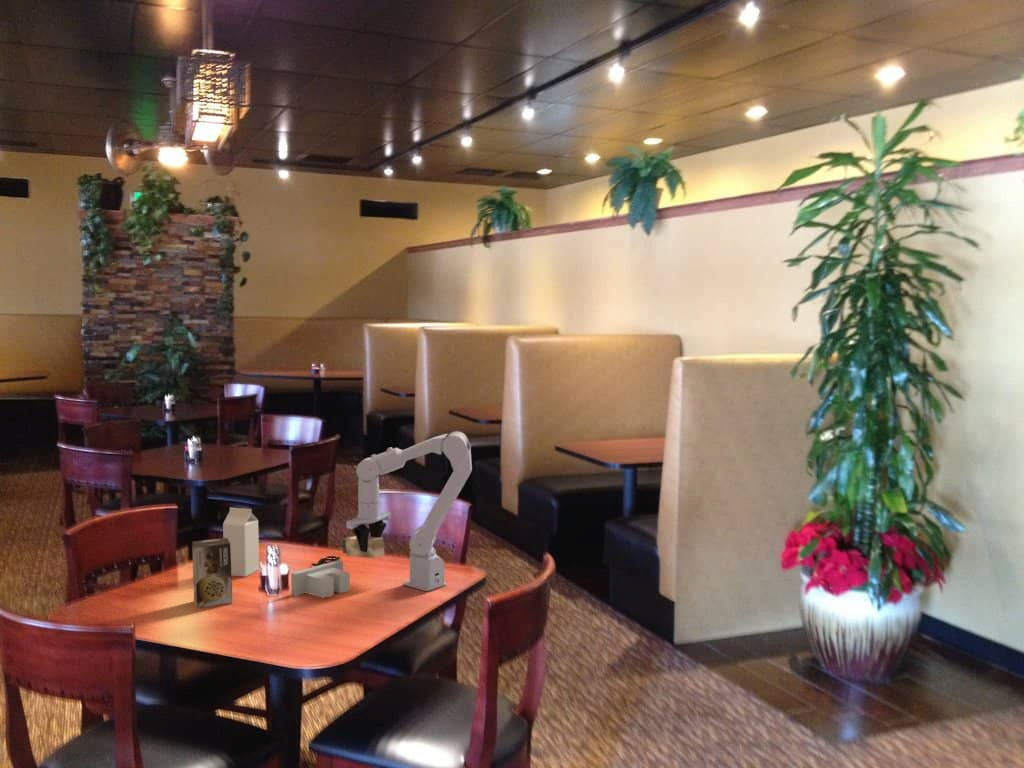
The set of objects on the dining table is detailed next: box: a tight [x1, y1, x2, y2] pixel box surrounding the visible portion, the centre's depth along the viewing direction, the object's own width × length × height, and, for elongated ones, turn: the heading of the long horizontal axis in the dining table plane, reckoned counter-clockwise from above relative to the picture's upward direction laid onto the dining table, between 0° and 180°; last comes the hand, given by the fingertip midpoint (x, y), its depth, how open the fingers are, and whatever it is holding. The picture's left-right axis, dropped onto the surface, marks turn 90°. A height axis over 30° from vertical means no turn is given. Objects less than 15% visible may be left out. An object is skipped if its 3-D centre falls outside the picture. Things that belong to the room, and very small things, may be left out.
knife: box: [310, 555, 341, 566], centre depth 258 cm, size 25×6×1 cm, turn 165°
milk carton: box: [222, 507, 260, 578], centre depth 254 cm, size 7×7×19 cm
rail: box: [341, 535, 385, 559], centre depth 247 cm, size 15×4×5 cm, turn 51°
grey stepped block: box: [290, 560, 351, 599], centre depth 239 cm, size 9×16×6 cm, turn 141°
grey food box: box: [191, 537, 234, 609], centre depth 228 cm, size 9×6×16 cm
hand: (369, 549), depth 245 cm, fingers closed on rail, 3 cm apart
